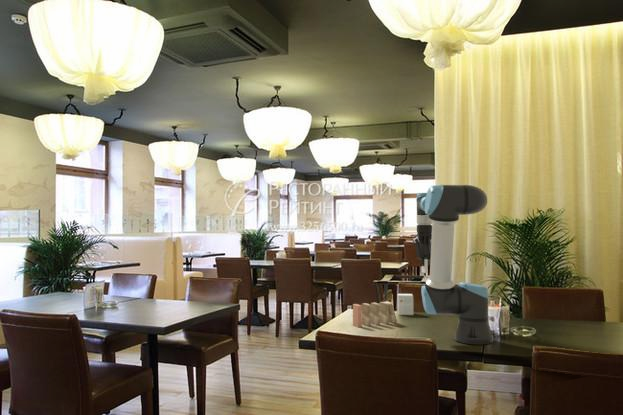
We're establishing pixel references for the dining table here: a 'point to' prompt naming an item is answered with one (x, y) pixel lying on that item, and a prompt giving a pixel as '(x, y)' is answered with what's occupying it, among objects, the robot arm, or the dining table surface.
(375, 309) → the domino
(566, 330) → the dining table surface
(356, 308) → the domino
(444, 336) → the dining table surface
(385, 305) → the domino
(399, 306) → the small box
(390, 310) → the domino
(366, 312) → the domino
